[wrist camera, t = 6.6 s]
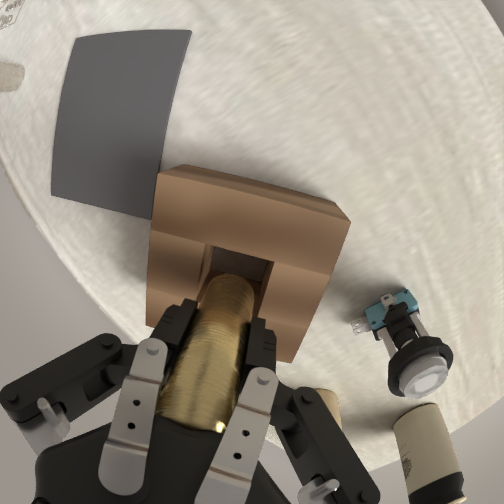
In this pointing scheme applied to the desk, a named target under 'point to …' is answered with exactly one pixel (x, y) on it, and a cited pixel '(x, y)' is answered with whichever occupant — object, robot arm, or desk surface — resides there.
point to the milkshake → (10, 76)
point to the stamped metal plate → (9, 7)
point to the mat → (116, 118)
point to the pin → (210, 359)
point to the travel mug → (428, 457)
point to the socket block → (243, 246)
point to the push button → (407, 346)
